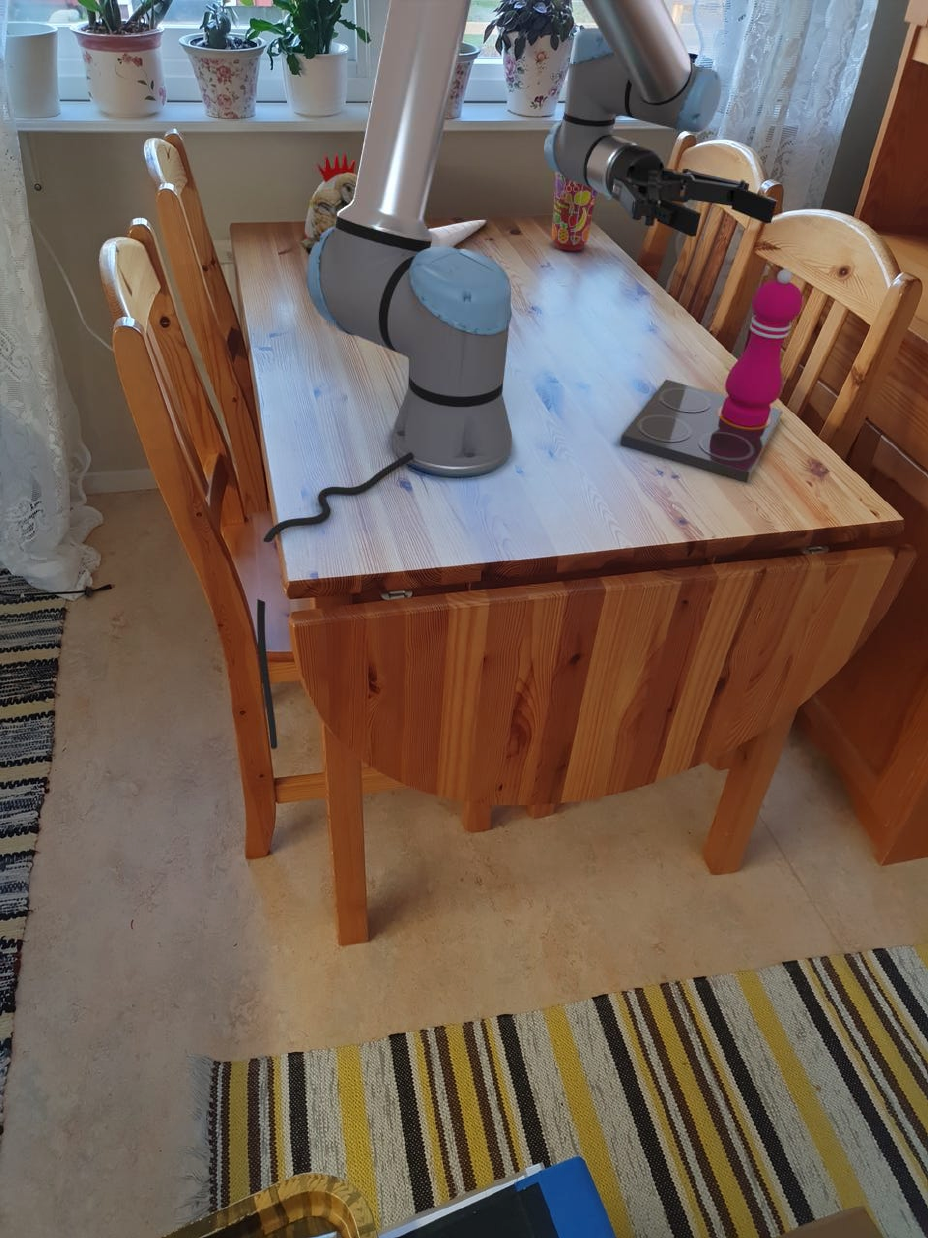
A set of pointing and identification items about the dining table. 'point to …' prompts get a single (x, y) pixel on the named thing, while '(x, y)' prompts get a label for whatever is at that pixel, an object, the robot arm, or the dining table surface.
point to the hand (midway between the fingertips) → (735, 218)
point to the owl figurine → (330, 207)
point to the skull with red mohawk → (327, 184)
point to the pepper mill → (762, 353)
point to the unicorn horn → (454, 233)
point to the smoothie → (571, 213)
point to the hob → (698, 432)
